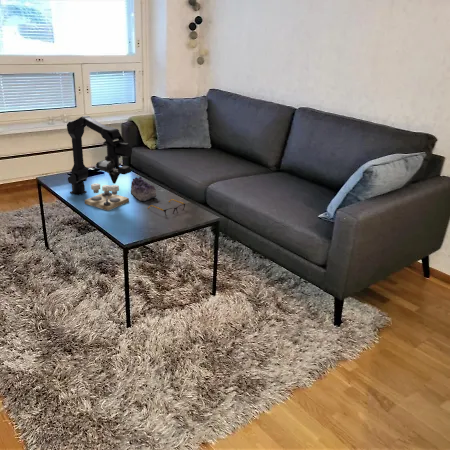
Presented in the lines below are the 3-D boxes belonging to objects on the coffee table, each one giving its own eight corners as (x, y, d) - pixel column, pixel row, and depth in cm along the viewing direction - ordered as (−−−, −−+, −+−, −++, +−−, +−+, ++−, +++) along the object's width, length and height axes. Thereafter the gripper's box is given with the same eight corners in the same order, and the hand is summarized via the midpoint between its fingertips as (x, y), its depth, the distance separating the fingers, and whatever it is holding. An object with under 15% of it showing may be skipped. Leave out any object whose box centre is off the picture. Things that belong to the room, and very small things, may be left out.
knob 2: (100, 193, 246) (100, 186, 244) (106, 191, 249) (106, 184, 248) (107, 195, 244) (106, 188, 242) (113, 193, 247) (112, 186, 246)
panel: (84, 203, 239) (84, 199, 238) (106, 195, 252) (105, 191, 251) (108, 210, 232) (108, 206, 231) (128, 201, 245) (128, 197, 244)
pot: (103, 204, 233) (103, 197, 232) (106, 203, 235) (106, 195, 233) (107, 205, 232) (106, 198, 231) (110, 204, 234) (110, 196, 232)
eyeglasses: (165, 217, 229) (165, 210, 227) (147, 209, 238) (147, 201, 236) (186, 210, 239) (186, 203, 237) (168, 202, 248) (168, 195, 246)
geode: (123, 192, 258) (124, 174, 255) (141, 191, 265) (143, 174, 262) (139, 202, 243) (140, 184, 240) (158, 201, 250) (160, 183, 247)
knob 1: (89, 192, 238) (89, 185, 236) (95, 190, 242) (95, 182, 240) (96, 194, 236) (95, 186, 234) (102, 191, 240) (102, 184, 238)
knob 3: (108, 194, 237) (107, 186, 236) (114, 191, 241) (113, 184, 239) (115, 195, 235) (114, 188, 234) (120, 193, 239) (120, 186, 238)
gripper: (87, 154, 227) (89, 183, 233) (116, 160, 219) (117, 191, 226) (102, 149, 236) (104, 178, 243) (131, 155, 228) (132, 185, 235)
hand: (114, 183), depth 236 cm, fingers closed
